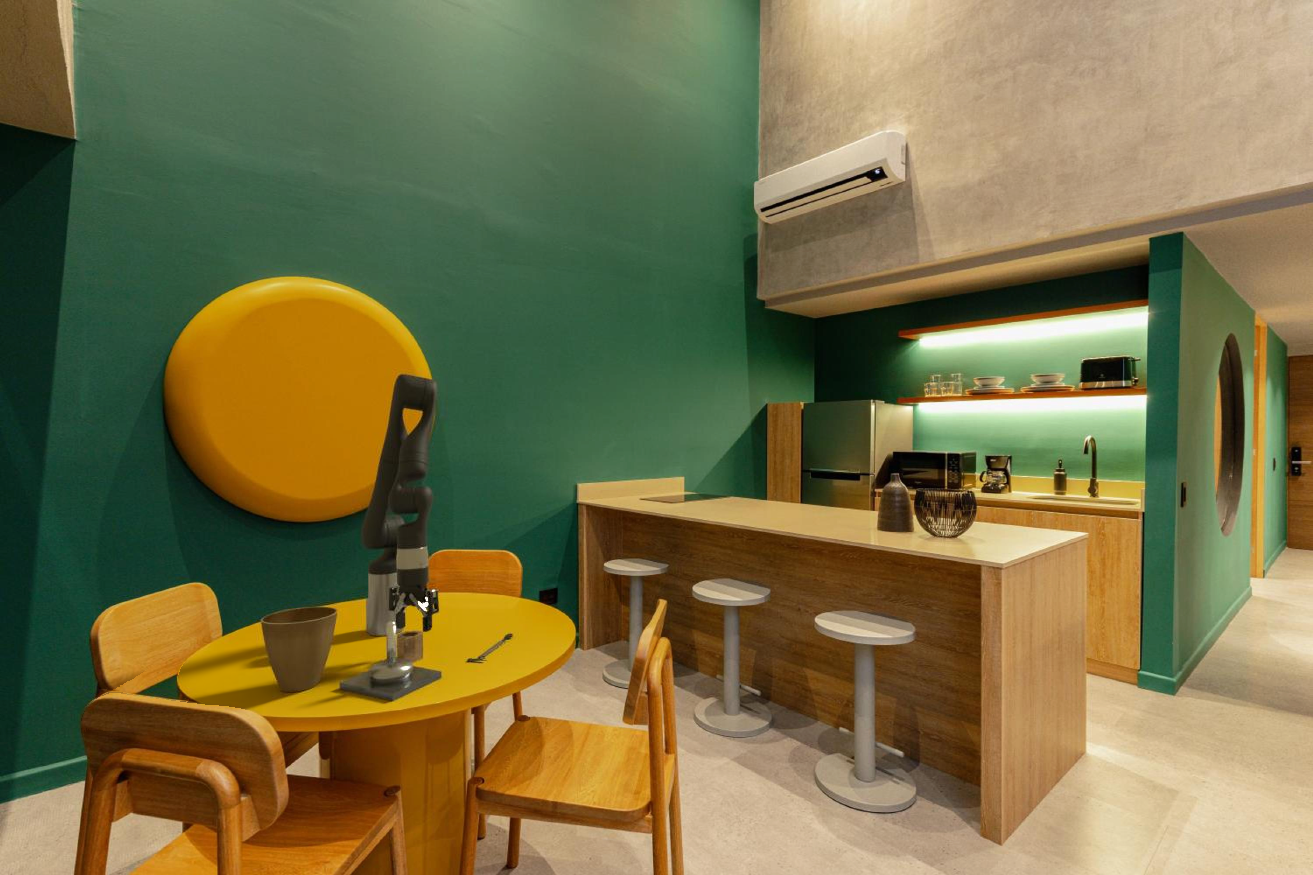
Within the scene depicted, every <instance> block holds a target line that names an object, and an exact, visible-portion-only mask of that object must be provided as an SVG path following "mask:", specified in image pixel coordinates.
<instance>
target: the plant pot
mask: <svg viewBox="0 0 1313 875" xmlns="http://www.w3.org/2000/svg"><path fill="white" fill-rule="evenodd" d="M337 617H338V608H335V607H331V606H309V607H307V606H306V607H297V608H290V609H284V610H279V611H276V612H272V613H270V614H267V615H265V616H263V617H262V618H261V619H260V625H261V630H262V636H263V641H264V646H265V651H266V654H267V659H268V661H269V664H270V667H271V670H272V672H273V675H274V678H275V680H276V683H277V684H278V686H279V688H280V690H281V691H282V692H285V693H295V692H297V693H298V692H302V691H303V692H304V691H306V690H310V689H312V688H314V687H316V686H317V685H319V682H320V681H321V678H322V676H323V672H324V670H325V668H326V664H327V661H328V658H329V655H330V652H331V647H332V644H333V643H332V642H333V639H334V634H335V629H336V623H337Z"/></svg>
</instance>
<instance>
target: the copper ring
mask: <svg viewBox="0 0 1313 875" xmlns="http://www.w3.org/2000/svg"><path fill="white" fill-rule="evenodd" d="M396 659H408V660H411V661H412V662H413V663H415V662H417V661H420V660H423V659H424V632H423V630H407V631H401V632H399V633H396Z"/></svg>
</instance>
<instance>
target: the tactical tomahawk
mask: <svg viewBox="0 0 1313 875" xmlns="http://www.w3.org/2000/svg"><path fill="white" fill-rule="evenodd" d="M513 636H514V634H513V633H511V632H510V633H507V634H505V635H504V637H503V638H502V640H499V641H498V642H496V643H495V644H493V645H491V647H490V648H488V649H487V650H485V651H484V652H483V653H481V654H480V655H478V656H477V658H472V657H469V658H467V660H466V661H467V663H475V664H484V662H487V661H488V659H486V657H487V656H488V655H490V654H491V653H493V652H494V651H496V650H497V649H498V648H500V647H501V646H503V645H504V644H506V643H507V642H506V640H509V641H510V639H511V638H513ZM505 642H506V643H505ZM503 643H504V644H503ZM502 644H503V645H502ZM499 646H500V647H499ZM483 661H484V662H483Z"/></svg>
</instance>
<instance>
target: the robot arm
mask: <svg viewBox="0 0 1313 875" xmlns="http://www.w3.org/2000/svg"><path fill="white" fill-rule="evenodd" d="M438 390H439V389H438V384H437V382H436V381H435V379H431V378H426V377H422V376H417V375H411V374H407V373H401V374H399V375H398V376H397V377H396V379H395V383H394V385H393V390H392V396H391V403H390V407H389V409H390V410H389V414H388V415H389V416H388V421H387V427H386V433H385V437H384V442H383V445H382V449H381V452H380V456H379V461H378V466H377V471H376V476H375V482H374V486H373V490H372V494H371V498H370V500H369V504H368V507H367V510H366V512H365V516H364V519H363V522H362V527H361V532H360V538H361V543H362V544H363V547H365V549H367V550H369V551H371V550H383V551H382V553H381V554H379V556H377V557H376V558H375V559H373V560H371V561H370V562H369V564H368V567H367V571H368V572H367V573H368V583H367V584H368V585H367V586H368V598H366V600H365V608H366V609H365V615H366V616H365V618H366V619H365V623H366V624H365V626H366V628H365V630H366V631H365V632H366V633H368V634H369V635H370V636H381V637H382V636H386V625H387V623H388V622H389V621H394V622H395V623H396V634H399V633H402V632H403V630H404V628H405V627H406V612H405V611H406V609H407V607H413V608H415V607H416V609H417V610H418V611H420V613H421V615H422V619H421V620H422V631H423V633H427V632H430V631H431V630H432V629H433V615H435V614H438V613H439V612H440V606H439V605H440V604H439V590H438V588H432V589H429V588H428V586H427V585H428V582H430V575H429V574H430V572H429V551H428V535H427V534H428V522H429V518H430V513H431V511H432V510H431V509H432V507H433V503H434V492H433V491H432V489H431V488H430V487H429V486H428V485H412V486H411V485H410V484H413V483H415V482H419V481H422V480H424V479H425V478H426V477H427V475H428V467H429V466H428V461H429V449H430V448H429V446H430V441H431V434H432V431H433V430H432V429H433V427H434V426H433V425H434V419H435V414H436V408H437V407H436V406H437V401H438V393H439V392H438ZM404 409H406V410H407V409H408V410H412V411H413V410H414V411H419V412H421V413H422V414H421V416H420V420H419V422H418V423H416V424H417V425H415V427H414V428H413V429H412V431H410V432H409V433H408V431H407V428H406V425H405V421H404ZM389 510H390V512H391V513H392V514H388V513H389ZM415 514H417V518H416V519H415V520H414V521H411V522H406V521H404V519H403V517H402V516H401V515H415ZM405 522H406V523H405Z"/></svg>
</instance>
